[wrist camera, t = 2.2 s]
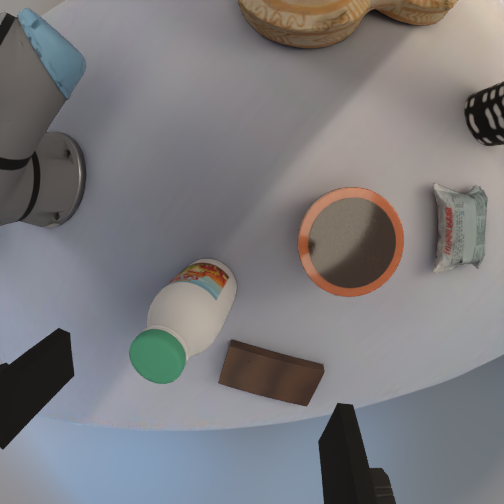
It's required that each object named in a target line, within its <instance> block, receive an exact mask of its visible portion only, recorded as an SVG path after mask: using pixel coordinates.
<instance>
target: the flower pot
mask: <svg viewBox="0 0 504 504" xmlns="http://www.w3.org/2000/svg"><path fill="white" fill-rule="evenodd" d="M297 242H298V252H299V256H300V260H301V263H302V265H303V268H304V270H305V271H306V273H307V275H308V276H309V277H310V279H311V280H312V281H313V282H314V283H315V284H316V285H317V286H319V287H320V288H322V289H323V290H325V291H327V292H329V293H332V294H334V295H338V296H345V297H353V296H360V295H364V294H367V293H370V292H372V291H374V290H376V289H377V288H379V287H380V286H382V285H383V284H384V283H385V282H386V281H387V280H388V279H389V278H390V277H391V276H392V274H393V273H394V272H395V270H396V268H397V266H398V264H399V262H400V260H401V256H402V253H403V247H404V235H403V228H402V224H401V221H400V219H399V217H398V215H397V213H396V211H395V210H394V208H393V207H392V206H391V204H390V203H389V202H388V201H387V200H385V199H384V198H383V197H382V196H380V195H379V194H377V193H375V192H373V191H371V190H367V189H364V188H357V187H345V188H339V189H335V190H332V191H330V192H328V193H326V194H324V195H322V196H321V197H319V198H318V199H317V200H316V201H315V202H314V203H313V204H312V205H311V206H310V207H309V208H308V210H307V211H306V213H305V215H304V216H303V218H302V221H301V223H300V227H299V231H298V238H297Z"/></svg>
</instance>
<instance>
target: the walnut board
mask: <svg viewBox="0 0 504 504" xmlns="http://www.w3.org/2000/svg"><path fill="white" fill-rule="evenodd" d="M324 372H325V371H324V366H323V364H319V363H315V362H310V361H306V360H303V359H299V358H295V357H291V356H287V355H283V354H280V353H276V352H273V351H269V350H265V349H262V348H258V347H255V346H252V345H248V344H245V343H242V342H238V341H235V340H231V343H230V346H229V349H228V352H227V356H226V359H225V362H224V365H223V369H222V372H221V375H220V378H219V382H218V383H219V384H222V385H225V386H229V387H232V388H236V389H239V390H242V391H246V392H250V393H253V394H257V395H261V396H265V397H268V398H272V399H276V400H281V401H285V402H289V403H293V404H298V405H302V406H307V405H308V404H309V402H310V400H311V398H312V396H313V394H314V392H315V390H316V388H317V386H318V384H319V382H320V380H321V378H322V376H323V374H324Z"/></svg>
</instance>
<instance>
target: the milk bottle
mask: <svg viewBox="0 0 504 504" xmlns="http://www.w3.org/2000/svg"><path fill="white" fill-rule="evenodd" d="M236 292H237V284H236V280H235V277H234V275H233V273H232V272H231V270H230V269H229V268H228V267H227V266H226V265H224V264H223V263H221V262H219V261H217V260H214V259H200V260H197V261H195V262H193V263H191V264H190V265H189V266H187V267H186V268H185V269H184V270H183V271H181V272H180V273H179V274H178V275H177V276H176V277H175V278H173V279H172V280H171V281H170V282H169V283H168V284H167V285H166V286H165V287H164V288H163V289H162V290H161V291H160V292H159V293H158V294H157V295H156V297H155V298H154V300H153V302H152V304H151V306H150V308H149V312H148V317H147V328H145V329H144V330H143V331H142V332H141V333H140V334H139V335H138V336H137V337H136V338H135V340H134V341H133V342H132V344H131V347H130V351H129V356H130V360H131V363H132V365H133V367H134V368H135V370H136V371H137V372H138V373H139V374H140V375H141V376H142V377H144V378H145V379H147V380H149V381H151V382H154V383H159V384H166V383H170V382H173V381H174V380H176V379H177V378H178V377H179V376H180V374H181V373H182V371H183V369H184V367H185V365H186V363H187V361H188V358H189V357H192V356H195V355H197V354H200V353H201V352H203V351H205V350H206V349H207V348H208V347H209V346H210V345H211V344H212V343H213V342H214V341H215V339H216V338H217V336H218V334H219V332H220V331H221V329H222V327H223V324H224V322H225V320H226V318H227V316H228V313H229V311H230V309H231V306H232V304H233V302H234V299H235V296H236Z"/></svg>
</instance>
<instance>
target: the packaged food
mask: <svg viewBox="0 0 504 504" xmlns="http://www.w3.org/2000/svg"><path fill="white" fill-rule="evenodd" d="M433 191H434V194H435V197H436V201H437V209H438V231H439V236H438V243H437V251H436V258H435V264H434V268H433V273H434V274H437V273H439V272H441V271H445V270H447V269H449V271H450V270H452V269H453V268H455V267H457V266H459V265H462V264H471V263H472V264H473V265H474V266H475V267H476V268H479V266H480V265H481V263H482V261H483V258H484V255H485V229H486V228H485V227H486V212H487V211H486V208H487V196H486V194H485V192H484V191H483V190H482V189H480V187H479V186H478V185H475V186H473V188H472V189H471V190H470V191H469V192H467V193H466V194H460V193H458V192H456V191H453V190H450V189H448V188H445V187H443V186H441V185H439V184H437V183H433ZM436 271H437V272H436Z"/></svg>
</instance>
